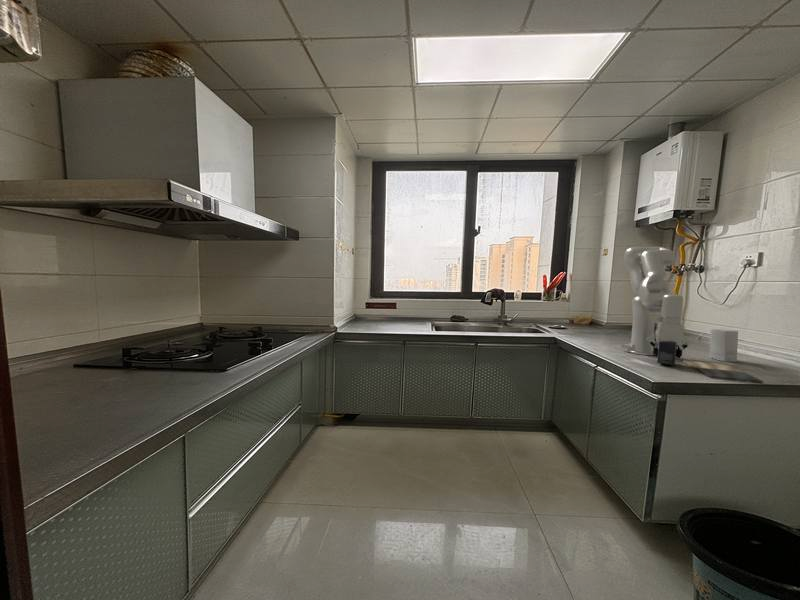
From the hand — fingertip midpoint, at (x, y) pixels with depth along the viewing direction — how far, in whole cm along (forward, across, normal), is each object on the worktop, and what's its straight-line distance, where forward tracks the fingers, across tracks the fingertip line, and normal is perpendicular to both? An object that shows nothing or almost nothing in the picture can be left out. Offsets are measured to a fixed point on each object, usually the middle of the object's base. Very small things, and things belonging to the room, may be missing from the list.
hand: (666, 356), depth 152 cm
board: (+4, +17, -5) cm, 18 cm away
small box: (+3, 0, 0) cm, 3 cm away
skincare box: (+5, +30, +23) cm, 38 cm away
